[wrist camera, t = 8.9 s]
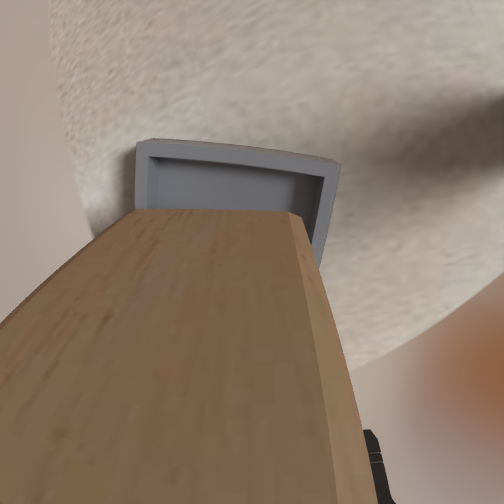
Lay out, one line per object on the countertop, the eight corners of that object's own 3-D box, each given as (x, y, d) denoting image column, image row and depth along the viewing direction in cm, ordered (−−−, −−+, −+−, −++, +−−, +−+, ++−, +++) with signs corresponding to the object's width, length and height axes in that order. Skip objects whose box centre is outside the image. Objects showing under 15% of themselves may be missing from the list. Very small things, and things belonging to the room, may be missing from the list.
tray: (153, 138, 23) (136, 142, 20) (331, 159, 24) (341, 165, 20) (151, 290, 29) (139, 310, 26) (298, 311, 30) (302, 334, 26)
